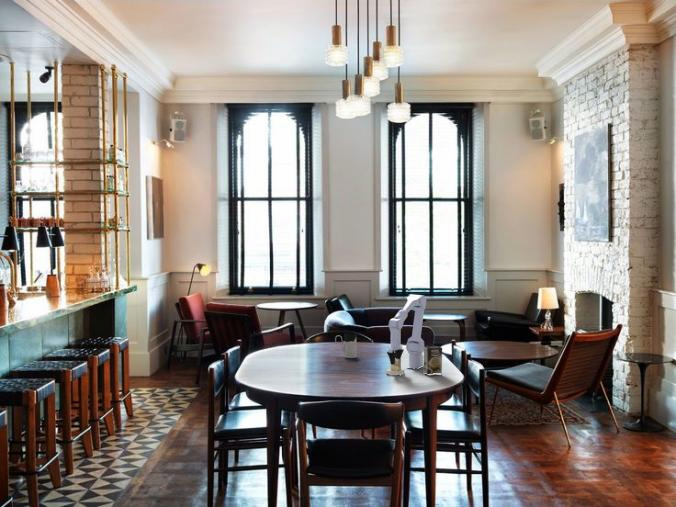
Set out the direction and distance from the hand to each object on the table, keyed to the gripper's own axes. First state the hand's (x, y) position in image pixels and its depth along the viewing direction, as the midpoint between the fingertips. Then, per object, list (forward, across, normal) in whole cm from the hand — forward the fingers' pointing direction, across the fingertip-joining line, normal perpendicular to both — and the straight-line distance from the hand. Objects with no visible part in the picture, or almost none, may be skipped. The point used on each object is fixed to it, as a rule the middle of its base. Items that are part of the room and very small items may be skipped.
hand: (395, 363), depth 385 cm
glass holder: (+7, +30, +48) cm, 57 cm away
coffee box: (+7, +10, -19) cm, 22 cm away
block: (+4, 0, 0) cm, 4 cm away
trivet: (+6, 0, 0) cm, 7 cm away
